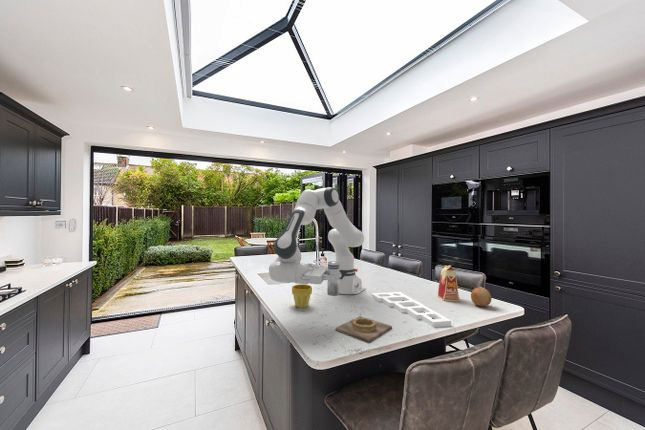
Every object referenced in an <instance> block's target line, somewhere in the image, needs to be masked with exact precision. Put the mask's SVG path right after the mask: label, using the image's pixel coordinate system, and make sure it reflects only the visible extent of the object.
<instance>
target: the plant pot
mask: <svg viewBox="0 0 645 430" xmlns="http://www.w3.org/2000/svg"><path fill="white" fill-rule="evenodd" d="M291 294H292V295H293V300H294V305H295V307H297V308H307V307H308V306H309V304H310V298H311V295H312V294H313V286H312V285H311V284H295V285H293V286H292V287H291Z"/></svg>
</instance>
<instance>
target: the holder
mask: <svg viewBox="0 0 645 430" xmlns="http://www.w3.org/2000/svg"><path fill="white" fill-rule="evenodd" d="M371 298H372V299H374V300H375V301H376V302H378V303H383V304H384V305H385V306H387V307H389V308H393V309H394V308H395V309H396V310H397V311H399V312H400V313H401V314H407V315H409V316H410V317H412V318H414V319H415V320H417V321H418V320H419V319H420V320H421V321H422V322H424V323H426V324H427V323H428V324H427V325H428V326H430V325H431V328H440V327H451V325H452V320H451V319H449V318H447V317H446V316H444V315H442V314H440V313H439V312H437V311H434V310H433V309H432V308H430V307H428V306H426V305H424V304H422V303H421V302H419V301H417V300H415V299H413V298H412V297H410V296H408V295H406V294H404V293H403V292H400V291H396V292H395V291H394V292H393V291H391V292H377V293H376V292H375V293H374V292H373V293H371ZM402 300H404V301H402ZM424 312H425V313H424ZM432 318H434V319H432Z"/></svg>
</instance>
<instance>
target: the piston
mask: <svg viewBox="0 0 645 430" xmlns="http://www.w3.org/2000/svg"><path fill="white" fill-rule="evenodd" d="M339 263H340V262H337V261H336V260H332V261H331V260H330V261H328V262H327V267H328V275H335V279H334V280H327V288H326V290H327V295H328V296H331V297H336V296H339V268H340V267H339V266H340V264H339Z"/></svg>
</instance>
